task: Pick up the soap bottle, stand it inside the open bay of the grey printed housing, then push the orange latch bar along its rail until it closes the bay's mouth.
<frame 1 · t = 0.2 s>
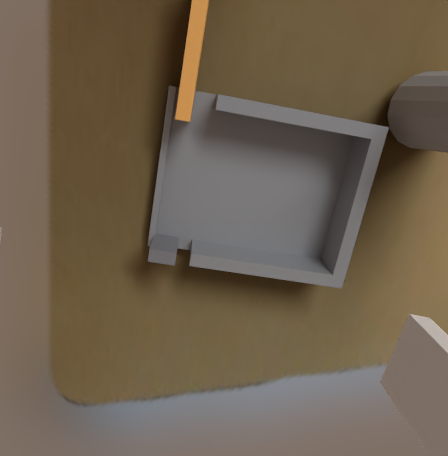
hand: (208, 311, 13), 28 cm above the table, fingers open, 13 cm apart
housing: (272, 187, 40), on the table
soap bottle: (415, 111, 39), on the table
latch: (194, 43, 33), point 3 cm above the table, slide at 0.0 cm
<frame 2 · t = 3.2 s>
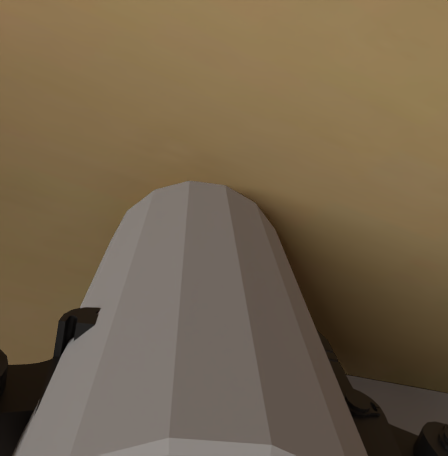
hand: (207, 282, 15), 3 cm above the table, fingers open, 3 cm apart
soap bottle: (196, 253, 18), on the table, touching gripper
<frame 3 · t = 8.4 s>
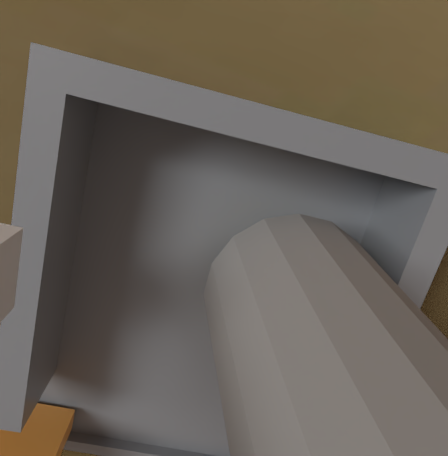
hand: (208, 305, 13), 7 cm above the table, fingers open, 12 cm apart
housing: (213, 261, 20), on the table
soap bottle: (281, 279, 18), point 2 cm above the table, touching gripper, hand, housing
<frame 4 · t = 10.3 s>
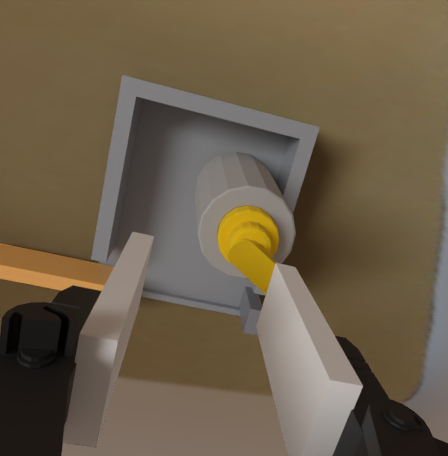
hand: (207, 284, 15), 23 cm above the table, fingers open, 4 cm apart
housing: (200, 185, 37), on the table
soap bottle: (234, 188, 36), point 1 cm above the table, touching housing
latch: (50, 270, 35), point 3 cm above the table, slide at 0.0 cm
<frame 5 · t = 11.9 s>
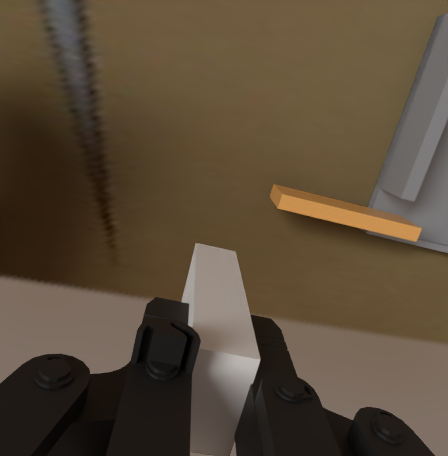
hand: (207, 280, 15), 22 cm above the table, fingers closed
latch: (342, 212, 34), point 3 cm above the table, slide at 0.0 cm
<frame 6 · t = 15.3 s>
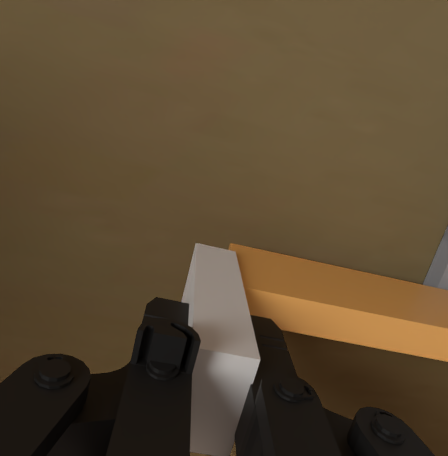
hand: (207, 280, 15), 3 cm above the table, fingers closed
latch: (383, 308, 15), point 3 cm above the table, slide at 0.0 cm, touching gripper
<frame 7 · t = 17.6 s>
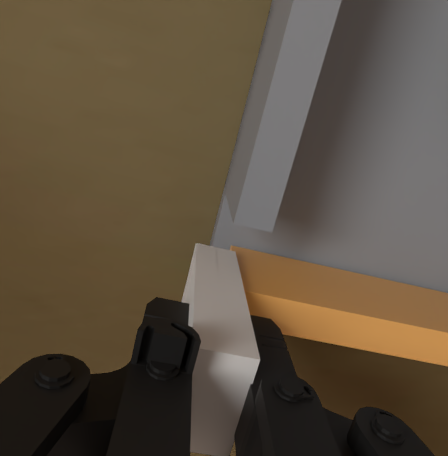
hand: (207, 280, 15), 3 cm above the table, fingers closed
latch: (386, 312, 15), point 3 cm above the table, slide at 10.2 cm, touching gripper
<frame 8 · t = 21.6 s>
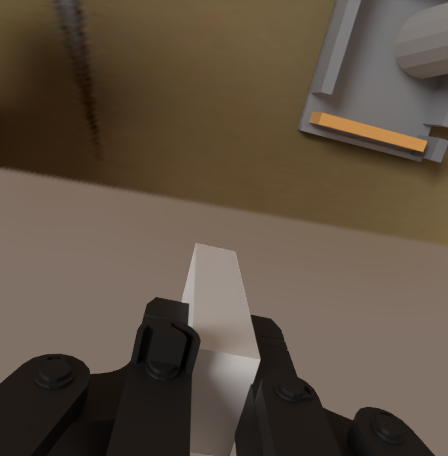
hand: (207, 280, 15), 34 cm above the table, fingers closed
housing: (390, 46, 45), on the table
soap bottle: (419, 46, 45), point 1 cm above the table, touching housing
latch: (366, 131, 45), point 3 cm above the table, slide at 10.2 cm
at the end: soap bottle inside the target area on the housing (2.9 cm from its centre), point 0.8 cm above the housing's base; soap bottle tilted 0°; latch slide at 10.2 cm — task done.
